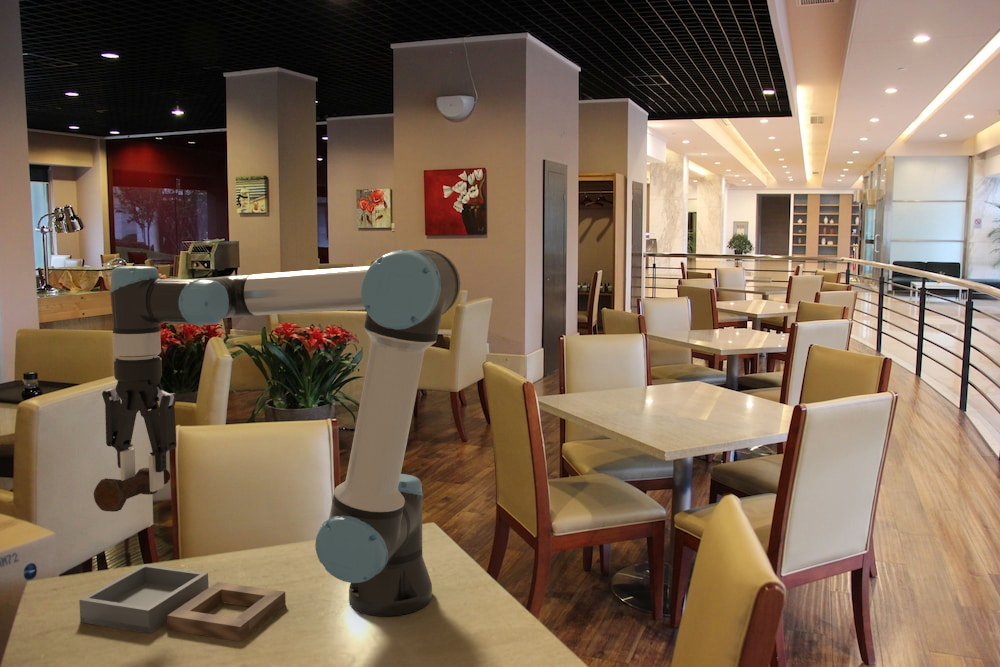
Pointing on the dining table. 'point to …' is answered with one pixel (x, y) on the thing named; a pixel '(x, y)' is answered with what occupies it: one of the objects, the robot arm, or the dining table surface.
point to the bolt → (123, 490)
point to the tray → (142, 598)
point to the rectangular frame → (198, 622)
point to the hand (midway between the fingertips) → (142, 487)
